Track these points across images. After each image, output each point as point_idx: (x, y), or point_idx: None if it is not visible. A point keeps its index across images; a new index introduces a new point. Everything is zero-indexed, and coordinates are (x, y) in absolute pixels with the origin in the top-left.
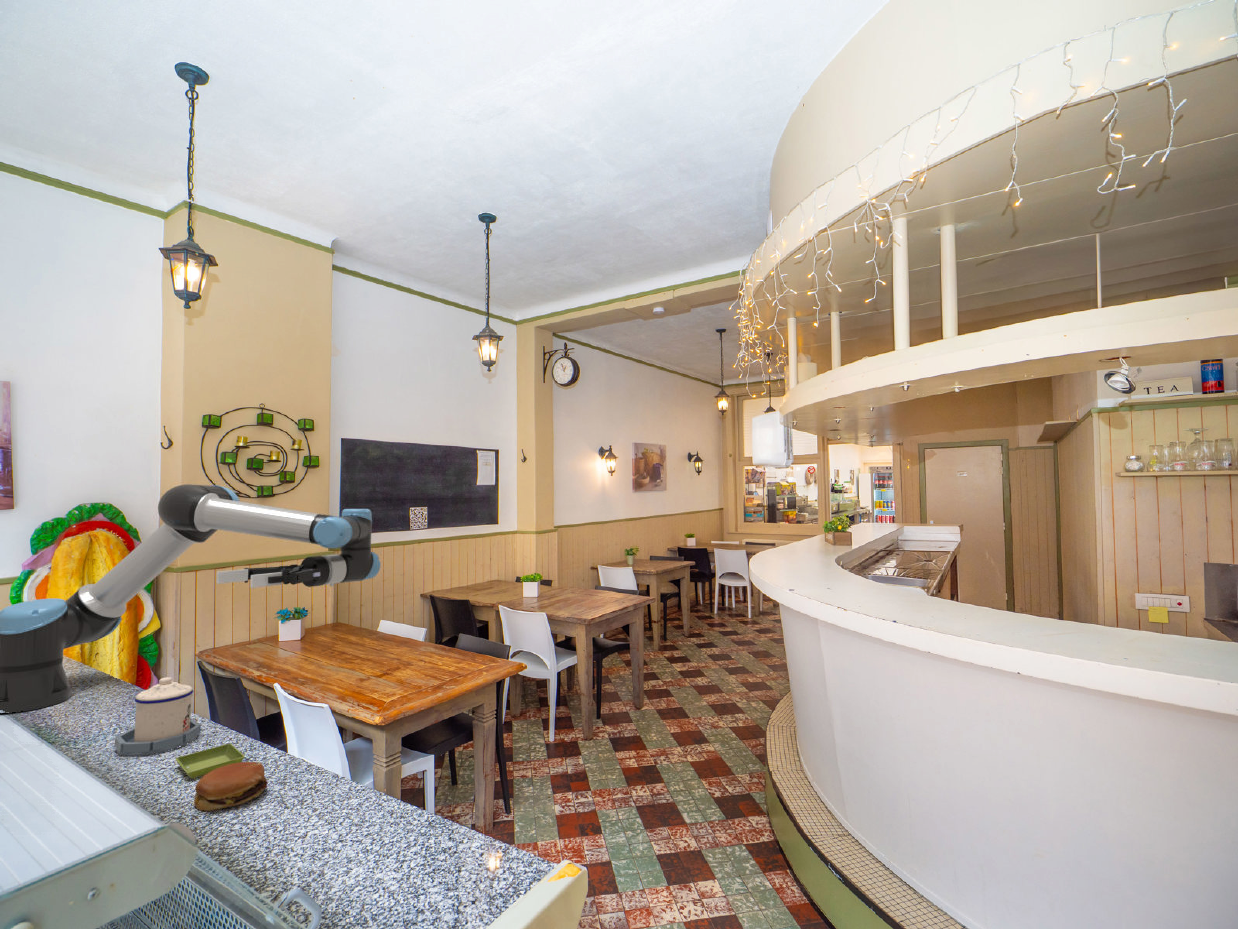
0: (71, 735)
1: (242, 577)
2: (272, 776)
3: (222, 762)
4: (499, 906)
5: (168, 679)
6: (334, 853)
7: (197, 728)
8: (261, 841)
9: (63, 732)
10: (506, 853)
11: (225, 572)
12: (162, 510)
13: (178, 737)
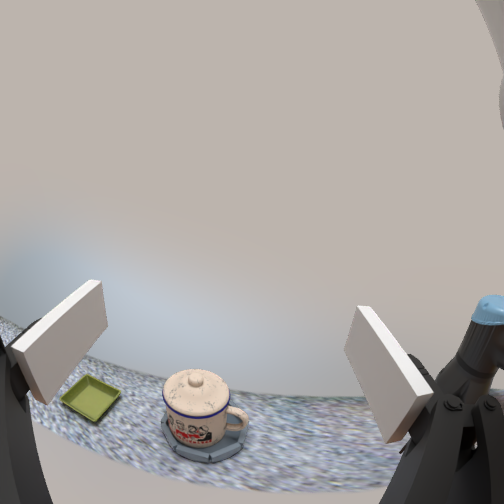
0: (322, 406)
1: (384, 407)
2: (29, 390)
3: (85, 407)
4: None
5: (188, 376)
6: None
7: (170, 442)
8: (8, 334)
9: (340, 404)
10: None
11: (366, 325)
12: None
13: (162, 418)
